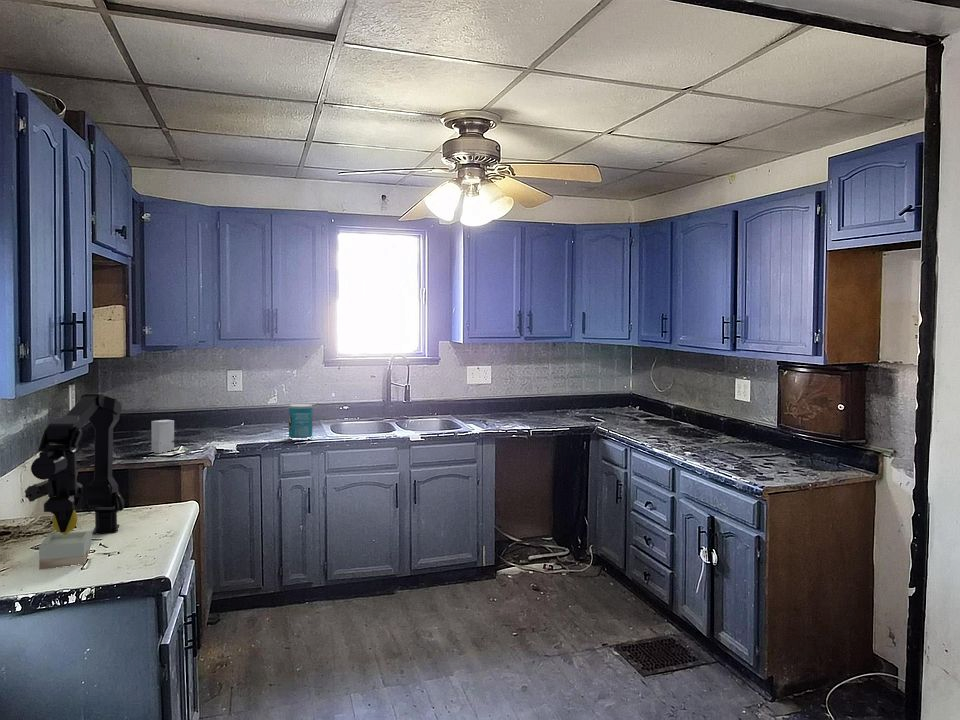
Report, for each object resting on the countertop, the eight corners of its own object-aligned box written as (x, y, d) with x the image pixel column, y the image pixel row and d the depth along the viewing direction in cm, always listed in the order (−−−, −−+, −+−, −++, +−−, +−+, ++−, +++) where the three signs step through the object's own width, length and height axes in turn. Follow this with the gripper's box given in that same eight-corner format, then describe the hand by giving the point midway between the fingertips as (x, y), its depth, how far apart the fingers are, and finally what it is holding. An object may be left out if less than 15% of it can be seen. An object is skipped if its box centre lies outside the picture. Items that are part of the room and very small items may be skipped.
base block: (47, 558, 182) (47, 547, 182) (89, 554, 186) (89, 543, 186) (39, 571, 173) (39, 559, 173) (84, 566, 177) (84, 555, 177)
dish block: (49, 546, 182) (48, 533, 182) (91, 543, 186) (91, 530, 186) (39, 559, 173) (38, 546, 173) (83, 555, 176) (83, 542, 176)
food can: (283, 439, 355) (283, 405, 353) (298, 436, 366) (298, 402, 364) (302, 441, 350) (302, 407, 349) (316, 438, 361) (317, 404, 360)
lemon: (49, 535, 179) (48, 505, 178) (72, 530, 183) (71, 500, 182) (57, 539, 175) (57, 509, 175) (81, 534, 180) (80, 504, 179)
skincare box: (159, 454, 313) (158, 422, 312) (150, 452, 316) (150, 420, 315) (175, 451, 320) (174, 419, 319) (166, 449, 323) (166, 418, 322)
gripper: (35, 464, 183) (36, 521, 184) (18, 481, 166) (20, 543, 167) (82, 461, 188) (83, 517, 189) (71, 477, 170) (72, 538, 172)
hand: (65, 528), depth 179 cm, fingers closed on lemon, 5 cm apart
